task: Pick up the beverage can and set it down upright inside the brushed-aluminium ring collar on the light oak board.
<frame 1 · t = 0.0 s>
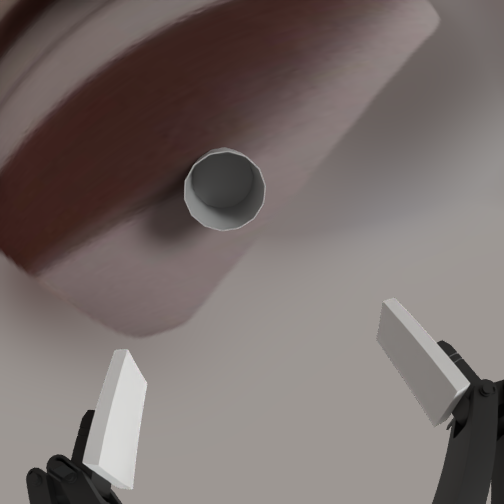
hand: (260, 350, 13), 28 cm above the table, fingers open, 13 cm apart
cup: (222, 177, 37), on the table
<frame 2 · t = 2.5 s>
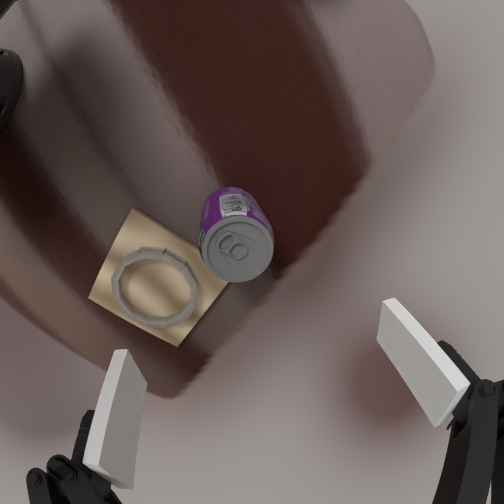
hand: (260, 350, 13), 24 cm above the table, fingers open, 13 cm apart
ring board: (156, 284, 37), on the table
beverage can: (230, 213, 35), on the table
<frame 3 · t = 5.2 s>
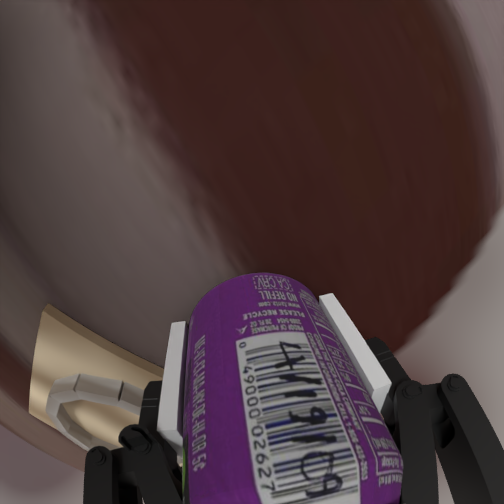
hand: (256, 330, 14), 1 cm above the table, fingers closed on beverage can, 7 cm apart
ring board: (121, 416, 18), on the table
beverage can: (254, 321, 15), on the table, touching gripper
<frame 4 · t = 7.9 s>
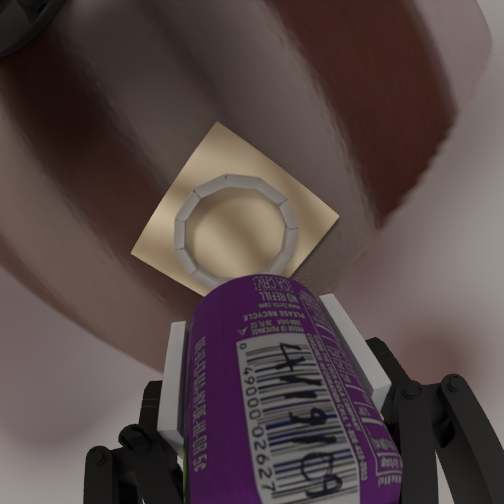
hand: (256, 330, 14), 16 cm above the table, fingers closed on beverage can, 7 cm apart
ring board: (234, 230, 29), on the table
beverage can: (254, 321, 15), point 15 cm above the table, touching gripper
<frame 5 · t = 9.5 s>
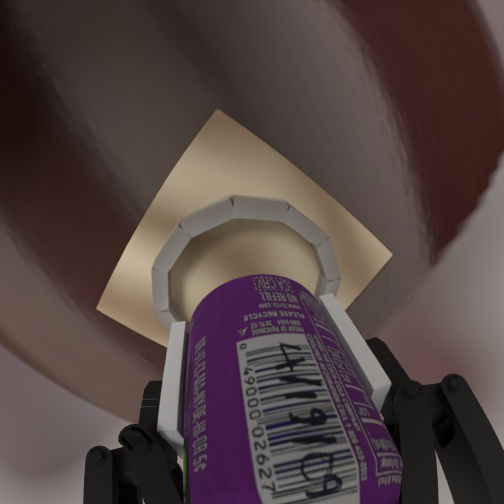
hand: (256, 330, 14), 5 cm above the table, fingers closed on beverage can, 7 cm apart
ring board: (244, 279, 19), on the table
beverage can: (254, 321, 15), point 5 cm above the table, touching gripper
when the fingers open (3 cm above the table, at t = 10.5 s): beverage can drops 1 cm, resting on ring board.
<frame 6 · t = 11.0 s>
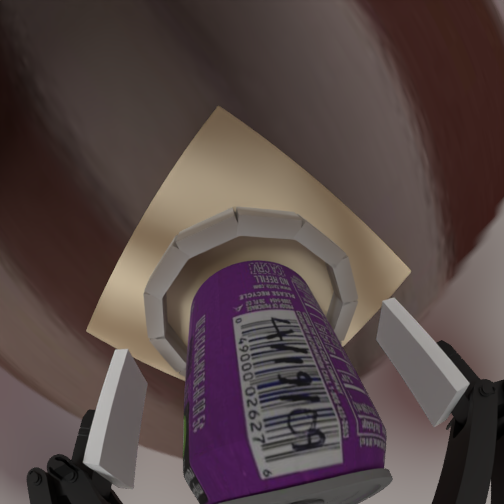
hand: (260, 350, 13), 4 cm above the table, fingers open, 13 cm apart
ring board: (249, 300, 17), on the table
beverage can: (250, 306, 17), point 1 cm above the table, touching ring board
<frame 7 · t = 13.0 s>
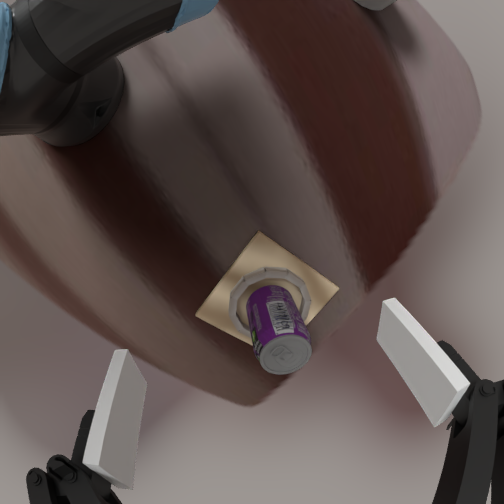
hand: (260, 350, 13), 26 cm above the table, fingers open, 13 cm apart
ring board: (268, 300, 42), on the table
beverage can: (268, 302, 42), point 1 cm above the table, touching ring board
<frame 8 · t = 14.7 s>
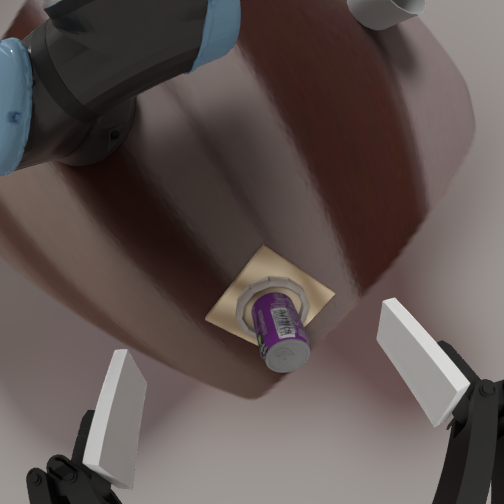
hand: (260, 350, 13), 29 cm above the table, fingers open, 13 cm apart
cup: (369, 10, 28), on the table
ring board: (271, 305, 47), on the table
beverage can: (271, 307, 46), point 1 cm above the table, touching ring board
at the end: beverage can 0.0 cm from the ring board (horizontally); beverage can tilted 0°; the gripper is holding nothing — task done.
